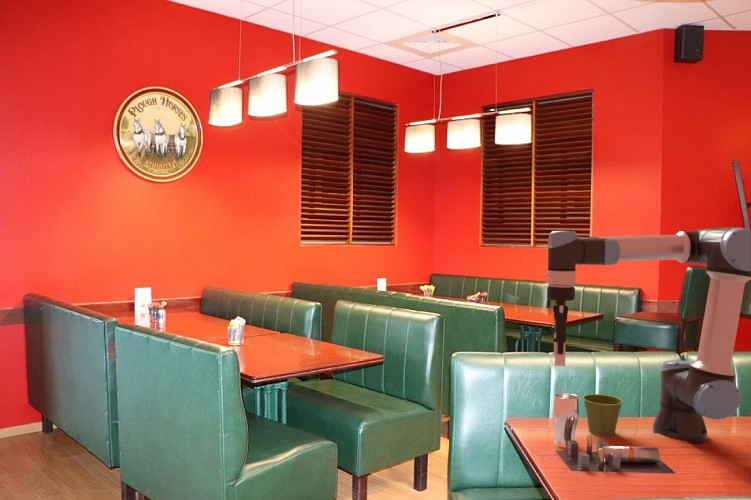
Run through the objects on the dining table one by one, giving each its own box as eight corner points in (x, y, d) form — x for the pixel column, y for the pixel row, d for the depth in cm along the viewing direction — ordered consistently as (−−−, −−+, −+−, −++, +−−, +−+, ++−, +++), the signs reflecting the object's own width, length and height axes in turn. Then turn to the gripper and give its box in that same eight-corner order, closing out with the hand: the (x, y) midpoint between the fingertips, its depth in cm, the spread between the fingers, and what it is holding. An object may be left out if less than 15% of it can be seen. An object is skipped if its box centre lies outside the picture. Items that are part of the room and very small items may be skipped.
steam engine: (652, 456, 172) (652, 435, 172) (676, 477, 158) (677, 454, 158) (555, 454, 172) (556, 433, 172) (571, 474, 158) (571, 451, 158)
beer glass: (578, 452, 174) (580, 400, 173) (552, 450, 175) (554, 398, 174) (575, 444, 180) (577, 393, 180) (551, 442, 182) (552, 391, 181)
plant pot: (612, 429, 195) (613, 393, 195) (628, 442, 183) (630, 405, 183) (575, 428, 195) (576, 393, 194) (589, 441, 183) (590, 404, 182)
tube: (652, 460, 167) (653, 445, 167) (659, 465, 163) (659, 449, 163) (601, 459, 167) (601, 444, 167) (606, 463, 163) (607, 448, 163)
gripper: (547, 281, 186) (545, 350, 187) (547, 289, 162) (545, 369, 163) (573, 282, 185) (571, 352, 185) (577, 290, 160) (575, 371, 161)
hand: (559, 360), depth 174 cm, fingers open, 13 cm apart
